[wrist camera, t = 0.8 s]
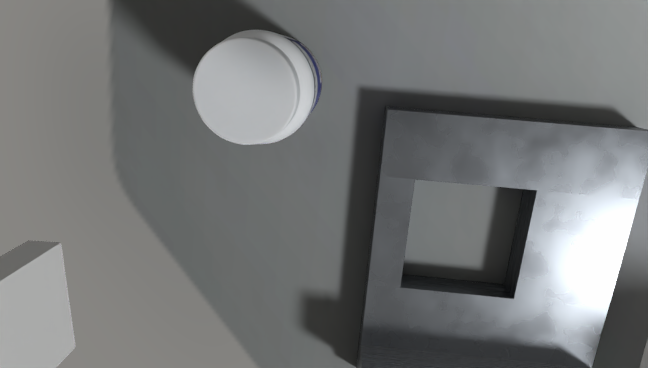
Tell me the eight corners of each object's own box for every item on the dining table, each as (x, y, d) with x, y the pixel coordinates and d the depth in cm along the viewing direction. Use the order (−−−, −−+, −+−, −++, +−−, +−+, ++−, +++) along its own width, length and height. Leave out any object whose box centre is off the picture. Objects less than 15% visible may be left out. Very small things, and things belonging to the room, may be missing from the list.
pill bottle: (226, 110, 30) (166, 133, 20) (248, 23, 28) (195, 3, 19) (308, 137, 30) (287, 172, 20) (335, 52, 28) (325, 47, 19)
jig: (385, 106, 29) (391, 115, 24) (636, 127, 28) (695, 140, 24) (356, 367, 34) (356, 417, 30) (567, 390, 34) (602, 444, 29)
